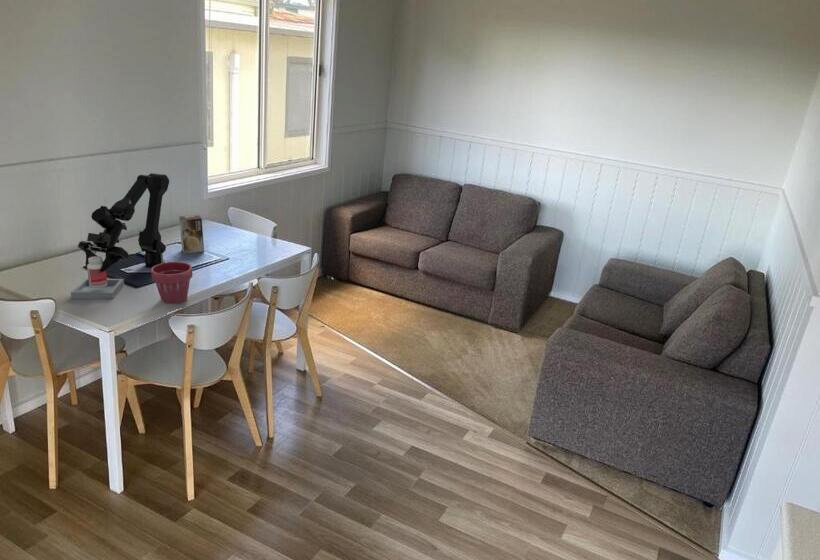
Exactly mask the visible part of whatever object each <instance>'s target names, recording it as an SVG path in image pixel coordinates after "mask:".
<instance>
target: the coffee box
mask: <svg viewBox="0 0 820 560" xmlns="http://www.w3.org/2000/svg"><path fill="white" fill-rule="evenodd" d="M178 219H179V229H180V230H179V231H180V242H181V251H182V253H183V254H185V255H186V254H195V253H204V252H205V243H204V231H203V230H204V229H203V219H202V217H201V216H200V215H198V214H197V215H184V216H183V215H181V216H178Z"/></svg>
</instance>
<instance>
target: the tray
mask: <svg viewBox="0 0 820 560" xmlns="http://www.w3.org/2000/svg"><path fill="white" fill-rule="evenodd" d="M124 286H125V279H124V278H107V285H106V286H105V287H101V288H92V287H90V285H89V278H84V279H82V280H81V281H80V283H78V285H77V286H76V287H75V288H74V289H73V290H71V292H70V296H71V299H74V300H75V299H76V300H114V299H115V297H116V296H117V295H118V294H119V292H120V291H121V290H122V288H124Z"/></svg>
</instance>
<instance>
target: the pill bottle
mask: <svg viewBox="0 0 820 560" xmlns="http://www.w3.org/2000/svg"><path fill="white" fill-rule="evenodd" d="M88 262H89V264H88V265H87V269H86V270H87V276H88V277H87V279H89V285H90V287H92V288H101V287H105V286H106V285H107V279H108V278H107V269H106V270H105V271H103V272H101V271H100V270H101V267H102V264H103V262H104V261H103V257H102V256H99V255H97V256H94V257H90V258H88Z"/></svg>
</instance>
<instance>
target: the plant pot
mask: <svg viewBox="0 0 820 560" xmlns="http://www.w3.org/2000/svg"><path fill="white" fill-rule="evenodd" d="M150 271H151V274H150V275H151V279H152V281H153V282H155V285H156V288H157V291H158V294H159V296H160V301H161V302H163V303H164V304H170V305H171V304H173V305H174V304H181V303H183V302H186V301H187V300H188V293H189V288H190V282H191V279H192V278H193V267H192V265H191V264H190V263H187V262H183V261H167V262H164V263H161V264H158V265H156V266H154V267H151V269H150Z"/></svg>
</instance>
